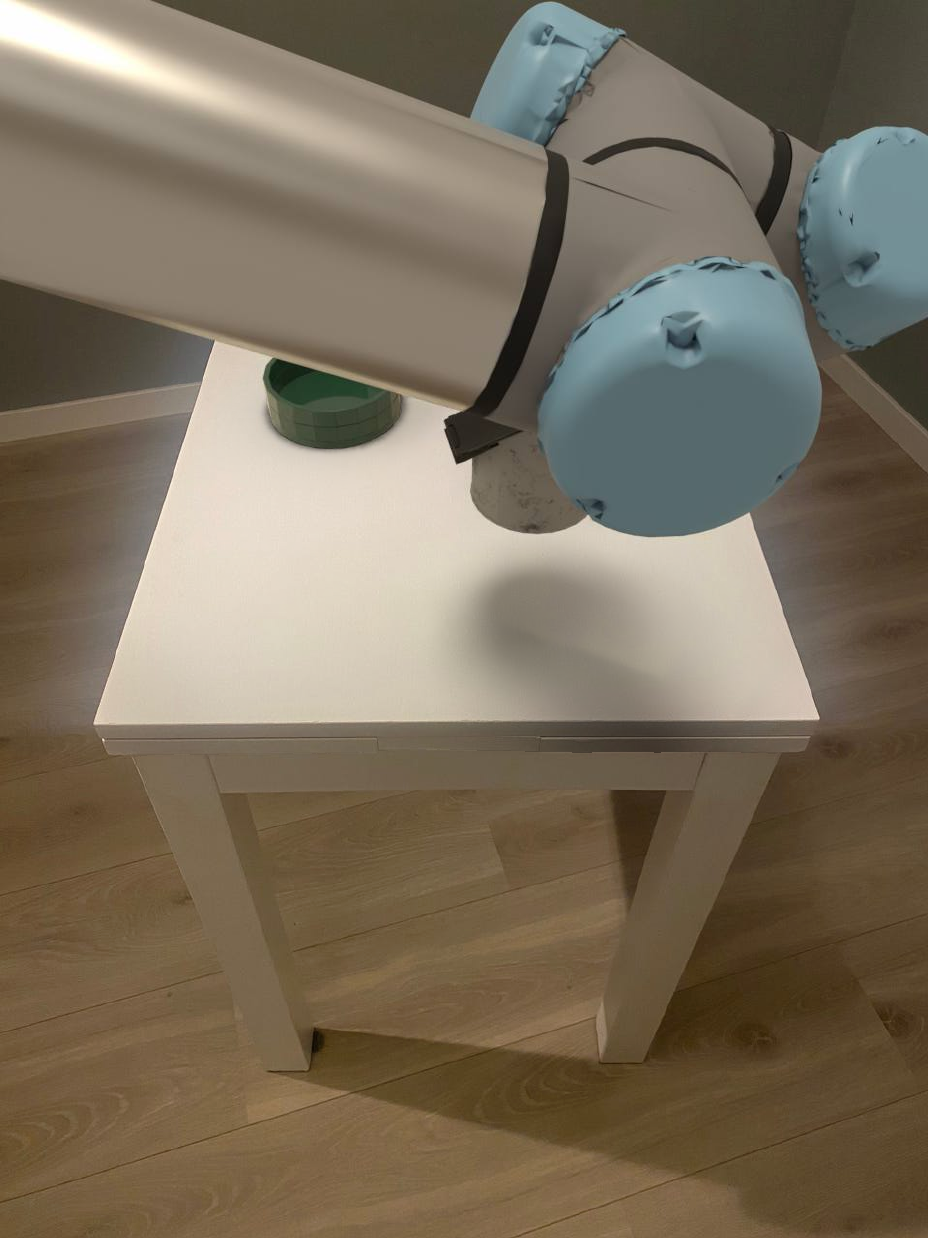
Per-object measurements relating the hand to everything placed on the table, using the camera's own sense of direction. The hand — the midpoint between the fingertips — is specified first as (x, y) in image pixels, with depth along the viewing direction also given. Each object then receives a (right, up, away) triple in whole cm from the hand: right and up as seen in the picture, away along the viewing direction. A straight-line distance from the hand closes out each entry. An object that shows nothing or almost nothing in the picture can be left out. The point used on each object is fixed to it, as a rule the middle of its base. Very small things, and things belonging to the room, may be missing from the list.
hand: (514, 425), depth 70 cm
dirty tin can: (+1, -5, +1) cm, 5 cm away
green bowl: (-17, +8, +29) cm, 35 cm away
